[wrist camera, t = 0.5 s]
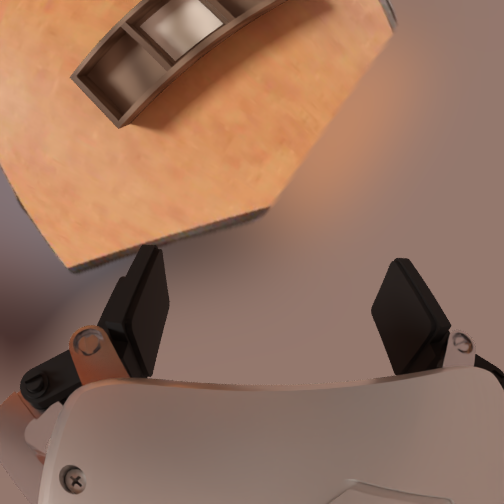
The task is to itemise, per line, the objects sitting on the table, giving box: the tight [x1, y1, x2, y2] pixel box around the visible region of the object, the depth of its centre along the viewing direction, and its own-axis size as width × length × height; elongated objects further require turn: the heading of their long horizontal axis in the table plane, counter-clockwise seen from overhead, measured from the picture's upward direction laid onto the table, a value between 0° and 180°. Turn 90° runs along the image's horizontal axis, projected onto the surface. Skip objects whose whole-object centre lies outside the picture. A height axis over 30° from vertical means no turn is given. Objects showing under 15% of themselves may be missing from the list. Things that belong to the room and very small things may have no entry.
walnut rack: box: [70, 0, 287, 129], centre depth 26 cm, size 30×12×4 cm, turn 128°
